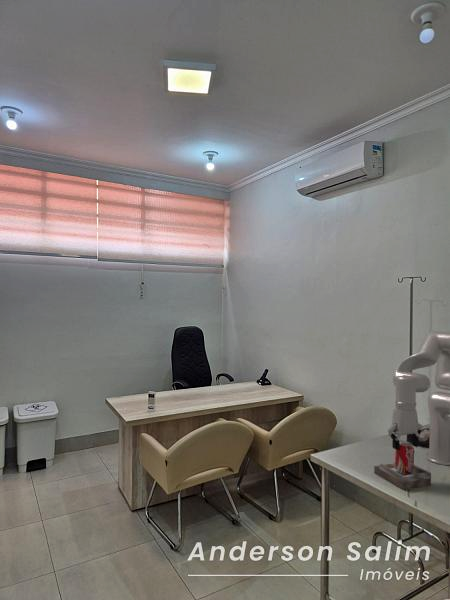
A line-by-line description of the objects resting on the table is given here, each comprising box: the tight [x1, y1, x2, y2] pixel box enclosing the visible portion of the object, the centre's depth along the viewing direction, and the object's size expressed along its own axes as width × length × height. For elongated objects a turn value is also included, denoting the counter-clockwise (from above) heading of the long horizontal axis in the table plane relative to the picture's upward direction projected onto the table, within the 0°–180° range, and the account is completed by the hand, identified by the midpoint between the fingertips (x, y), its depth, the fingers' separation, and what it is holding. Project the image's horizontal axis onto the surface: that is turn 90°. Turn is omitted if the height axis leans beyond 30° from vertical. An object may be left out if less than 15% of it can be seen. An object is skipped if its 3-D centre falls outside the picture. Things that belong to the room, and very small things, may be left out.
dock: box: [373, 462, 432, 491], centre depth 161 cm, size 14×16×5 cm
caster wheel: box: [418, 427, 430, 448], centre depth 204 cm, size 7×11×10 cm
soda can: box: [394, 440, 415, 475], centre depth 161 cm, size 7×7×12 cm
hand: (405, 447), depth 161 cm, fingers open, 9 cm apart
